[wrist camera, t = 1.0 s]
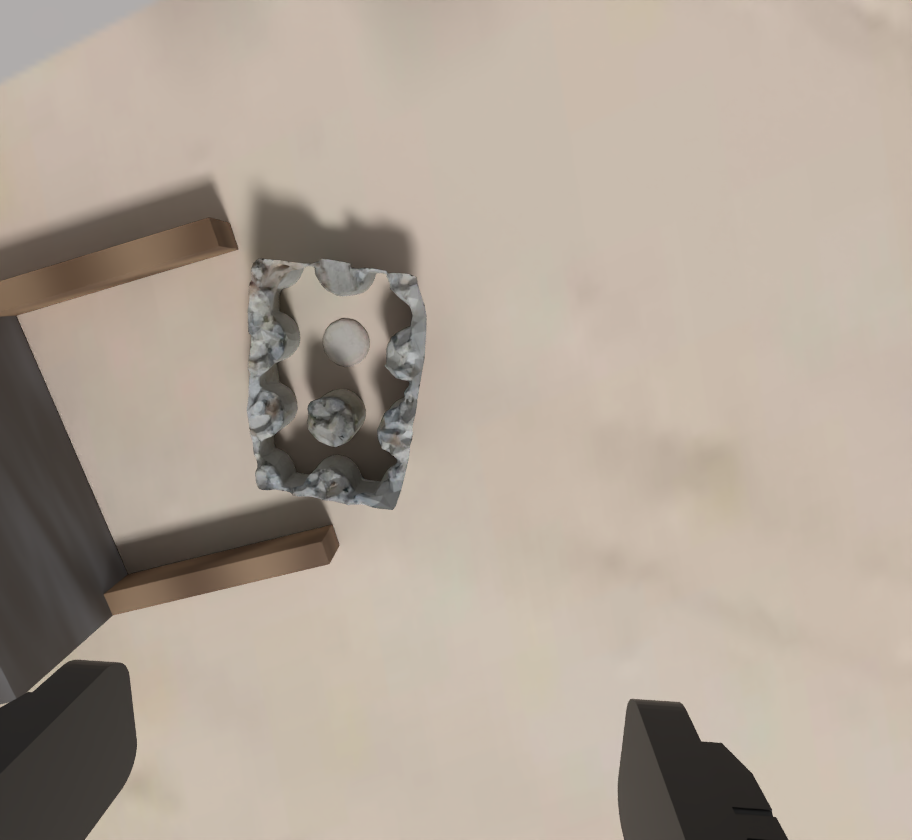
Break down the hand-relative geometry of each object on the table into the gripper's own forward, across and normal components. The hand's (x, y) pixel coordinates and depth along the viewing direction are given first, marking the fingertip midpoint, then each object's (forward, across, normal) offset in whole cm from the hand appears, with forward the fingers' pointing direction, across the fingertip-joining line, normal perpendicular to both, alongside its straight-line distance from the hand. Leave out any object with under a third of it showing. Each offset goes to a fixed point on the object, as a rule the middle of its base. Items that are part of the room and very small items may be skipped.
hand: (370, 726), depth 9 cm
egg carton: (+19, +5, -2) cm, 20 cm away
